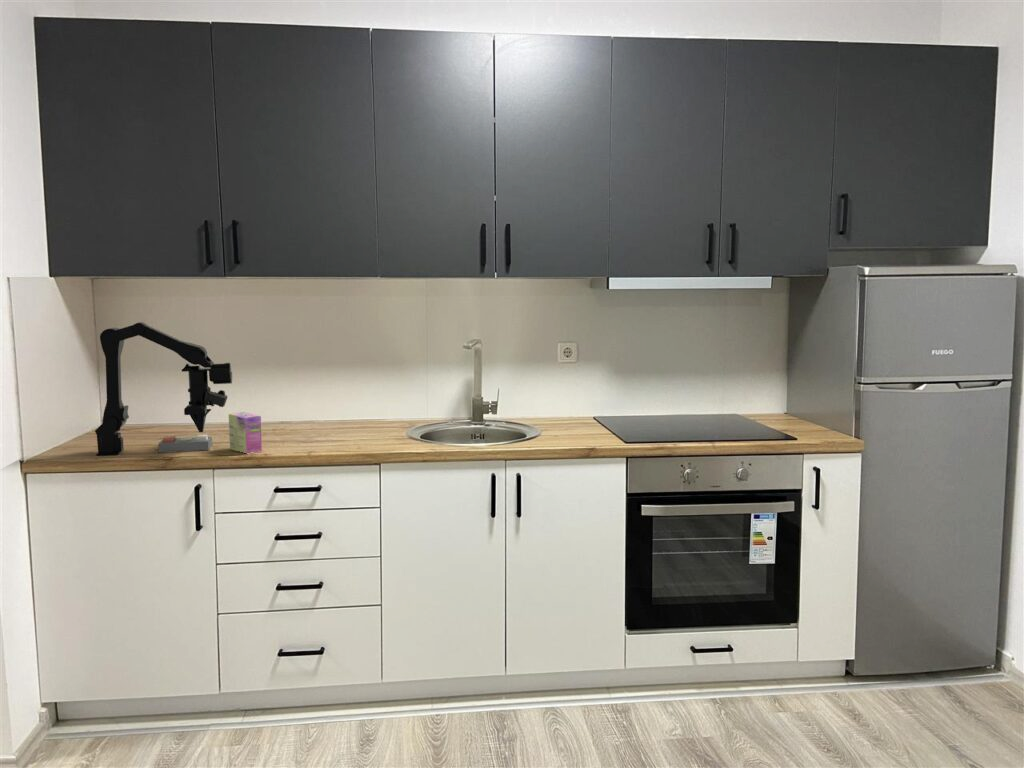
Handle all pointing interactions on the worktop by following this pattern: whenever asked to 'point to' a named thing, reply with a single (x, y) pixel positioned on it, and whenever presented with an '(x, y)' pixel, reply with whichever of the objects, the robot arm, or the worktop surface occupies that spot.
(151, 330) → the robot arm
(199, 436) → the cream button
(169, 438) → the red button
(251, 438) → the box
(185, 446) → the button panel
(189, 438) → the green button
